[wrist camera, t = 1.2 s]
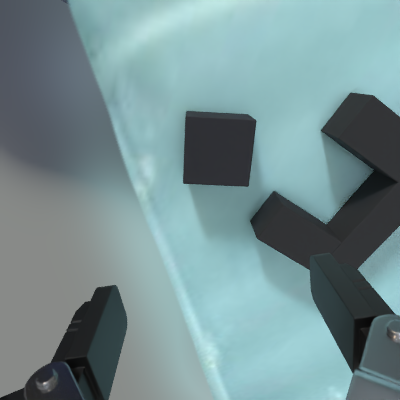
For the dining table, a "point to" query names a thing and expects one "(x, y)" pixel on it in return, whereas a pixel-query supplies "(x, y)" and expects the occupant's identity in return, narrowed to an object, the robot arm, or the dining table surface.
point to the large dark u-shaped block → (357, 205)
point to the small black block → (218, 148)
